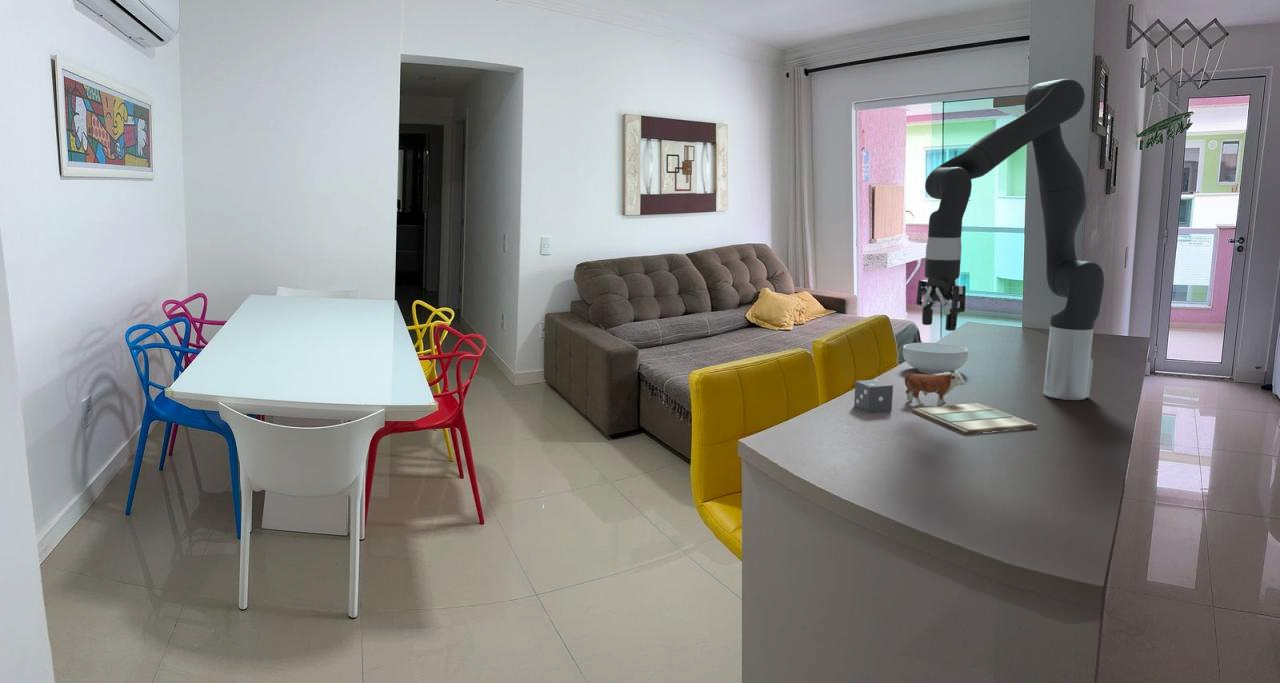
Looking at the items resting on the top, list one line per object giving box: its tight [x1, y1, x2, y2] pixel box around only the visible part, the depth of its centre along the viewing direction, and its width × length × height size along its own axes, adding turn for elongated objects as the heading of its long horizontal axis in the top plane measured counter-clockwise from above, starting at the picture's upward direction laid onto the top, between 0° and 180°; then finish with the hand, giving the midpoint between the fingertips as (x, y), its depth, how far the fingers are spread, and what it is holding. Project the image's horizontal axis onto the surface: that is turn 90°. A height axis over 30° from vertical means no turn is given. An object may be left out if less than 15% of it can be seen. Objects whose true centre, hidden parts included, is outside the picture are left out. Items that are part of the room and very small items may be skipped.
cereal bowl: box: [902, 342, 969, 375], centre depth 216 cm, size 17×17×7 cm
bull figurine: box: [904, 371, 966, 406], centre depth 182 cm, size 4×13×8 cm, turn 78°
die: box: [853, 379, 894, 414], centre depth 177 cm, size 6×6×6 cm
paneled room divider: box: [911, 402, 1039, 436], centre depth 169 cm, size 18×18×1 cm
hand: (938, 327), depth 179 cm, fingers open, 8 cm apart
